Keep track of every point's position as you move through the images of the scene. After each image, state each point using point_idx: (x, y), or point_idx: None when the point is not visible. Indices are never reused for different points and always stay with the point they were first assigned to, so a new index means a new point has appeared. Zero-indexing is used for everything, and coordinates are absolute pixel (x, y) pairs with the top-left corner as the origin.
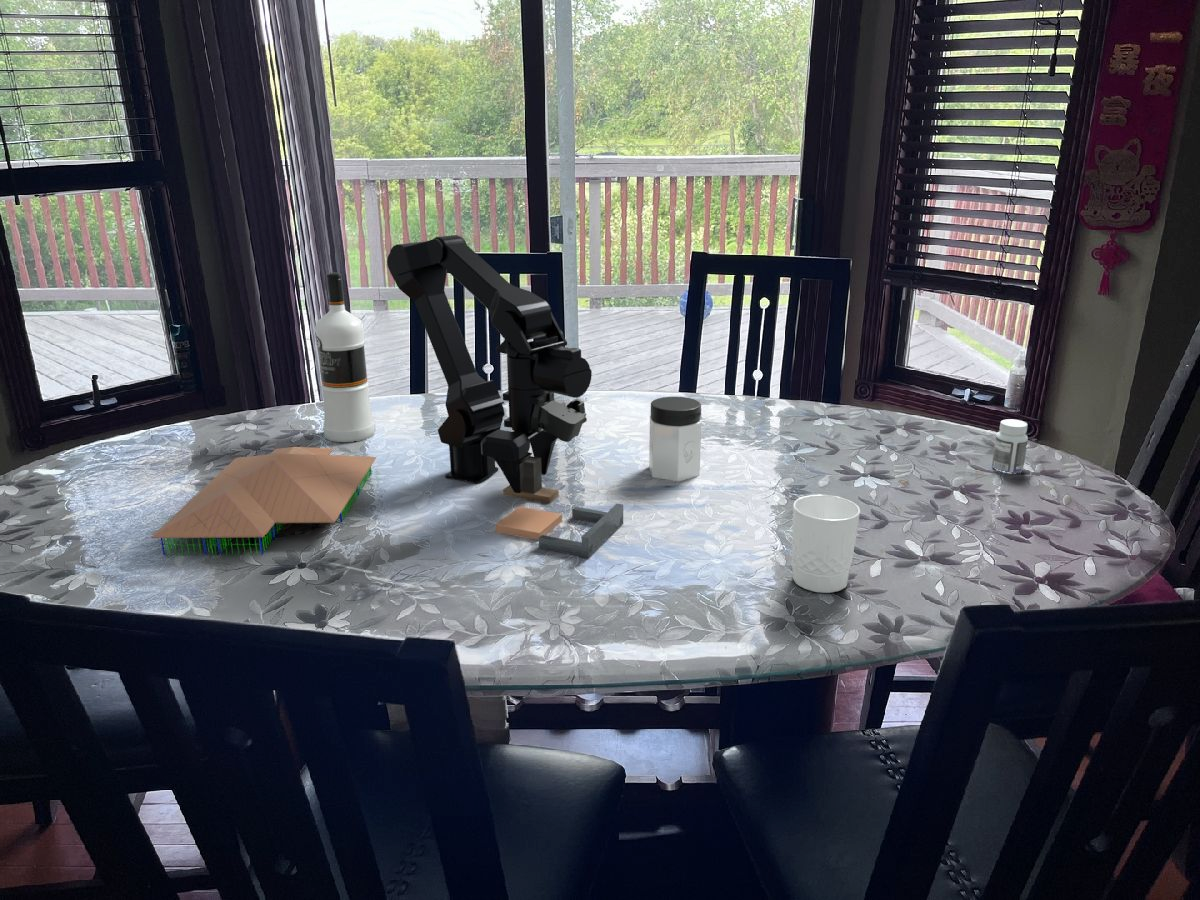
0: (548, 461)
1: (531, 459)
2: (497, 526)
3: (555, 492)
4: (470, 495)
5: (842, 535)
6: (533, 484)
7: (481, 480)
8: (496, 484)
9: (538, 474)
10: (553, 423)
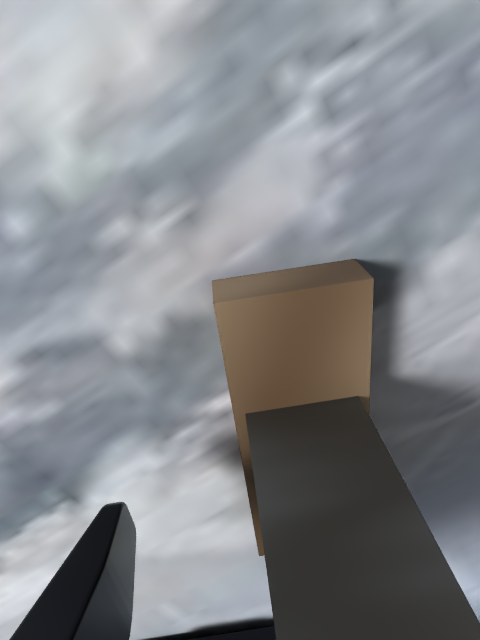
0: (65, 611)
1: None
2: None
3: (267, 296)
4: None
5: None
6: (383, 452)
7: (273, 633)
8: (249, 584)
9: (323, 514)
10: None
